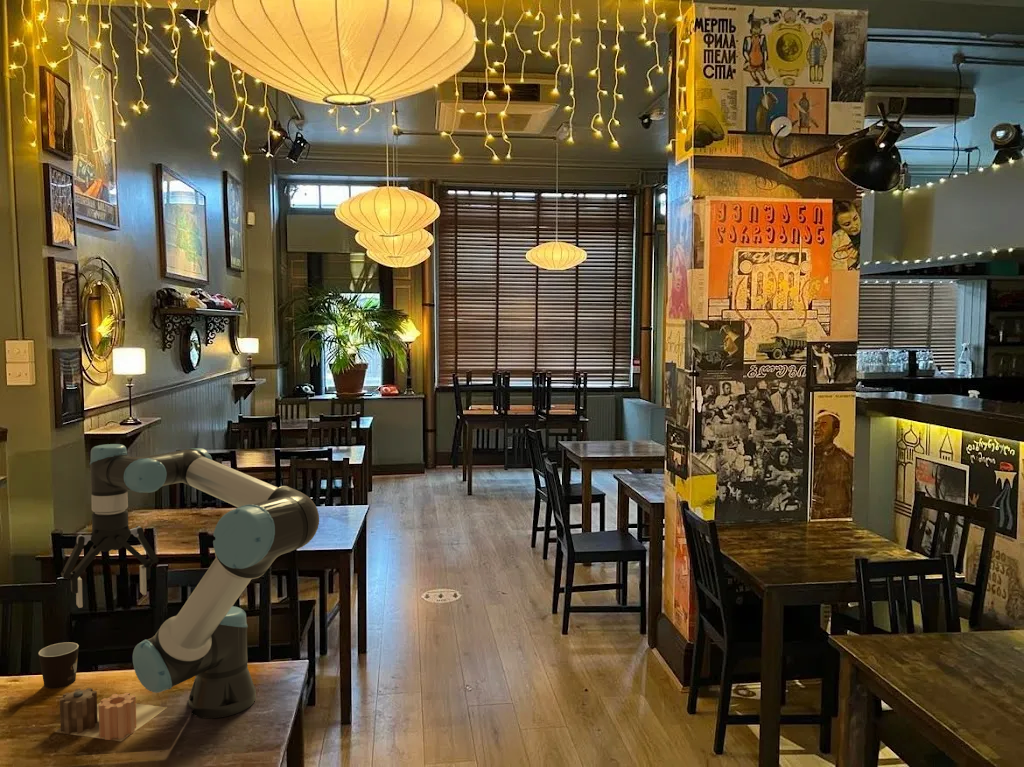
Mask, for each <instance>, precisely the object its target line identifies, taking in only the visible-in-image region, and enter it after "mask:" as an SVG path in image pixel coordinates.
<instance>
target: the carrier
mask: <svg viewBox="0 0 1024 767" xmlns="http://www.w3.org/2000/svg"><path fill="white" fill-rule="evenodd" d="M99 704H101V701H100V702H99V703H97V717H98V723H95V727H94V728H92V729H86V730H83V733H79V734H77V732H72V733H70V734H69V735H73V736H79V737H85V738H87V737H88V738H93V739H100V740H105V736H104V737H101V738H100V734H99ZM166 709H168V707H167V706H157V705H151V704H143V703H136V728H135V731H134V732H133V733H135V732H136V731H138V729H141V728H142V727H143V726H145V724H147V723H149V722H150V721H151V720H153V718H156V717H157V716H158V715H159V714H161V713H162V712H164V711H165V710H166ZM54 733H57V734H58V733H59V734H65V732H64V731H61V727H59V728H58V729H56V730H54ZM129 736H131V734H127V735H124V738H121V739H118V737H117V738H112V739H111V740H110V741H115V742H122V741H124V740H125V739H127V737H129Z"/></svg>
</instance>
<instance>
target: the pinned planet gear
mask: <svg viewBox="0 0 1024 767" xmlns="http://www.w3.org/2000/svg"><path fill="white" fill-rule="evenodd" d="M97 695H98V693H97V690H94V689H93V688H91V687H88V688H86V689H81V688H77V689H74V691H72V692H65V693H64V694H62V697H61V698H59V715H60V716H59V717H60V723H59V724H60V728H61V731H64V732H65V733H64V735H71V734H70V733H72V732H77V734H79V733H83V730H86V729H92V728H94V727H95V723H98V717H97V704H98V696H97Z"/></svg>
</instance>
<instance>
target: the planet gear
mask: <svg viewBox="0 0 1024 767" xmlns="http://www.w3.org/2000/svg"><path fill="white" fill-rule="evenodd" d="M130 694H131V693H130V692H124V693H122V694H117V693H114V694H111V696H109V697H107V698H106V697H104V698H102V699H101V700H100V702H101V704H99V703H98V704H99V734H100V738H101V737H104V736H105V739H104V740H105V741H112V740H111V739H112V738H117V737H118V739H121V738H124V735H127V734H130V735H132V734H134V733H135V732H136V731H135V728H136V704H137V701H136V695H135V694H133V695H132V694H131V695H130ZM134 731H135V732H134ZM100 738H99V739H100Z"/></svg>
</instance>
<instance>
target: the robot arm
mask: <svg viewBox="0 0 1024 767" xmlns="http://www.w3.org/2000/svg"><path fill="white" fill-rule="evenodd" d="M89 470H90V491H91V492H90V493H91V496H90V497H91V511H92V512H93V513H92V514H91V533H90V534H88V535H87V534H85V535H84V534H83V535H82V534H80V533H78V534H77V535H76V539H75V545H74V547H73V548H72V551H71V553H70V555H69V557H68V559H67V561H66V563H65V565H64V567H63V569H62V571H61V572H60V575H61V577H62V579H64V580H67V579H68V580H70V591H71V593H72V594H75V595H76V596H75V600H76V602H75V603H76V606H77V607H78V608H79V609H80V608H83V606H84V603H83V579H82V578H81V575H82V574H83V573H84V571H85V570H87V569H88V568H87V567H89V566H90V564H92V562H93V560H94V559H95V558H96V557H97V556H98V555H99V554H100V553H101V552H104V553H107V552H110V551H118V550H120V549H122V548H124V549H126V550H127V551H128V552H129V553H130V554H131V555H132V556H133V557H135V558H136V559H137V560H138V561H139V562H140V563H141V564H142V565H139V592H140V593H141V594H142V596H145V595H147V580H150V579H151V578H152V577H151V576H152V575H151V567H152V565H154V564H157V563H158V562H159V558H158V556H157V554H156V553H155V550H153V548H152V547H151V545H150V543H149V542H148V539H147V538H146V537H145V533H144V532H145V530H144V528H143V527H142V526H141V525H136V526H135V527H134V528H129V510H127V509H128V508H129V502H128V501H129V499H128V496H129V495H128V491H132V492H136V493H140V494H142V493H146V494H148V493H150V494H151V493H155V492H157V491H158V490H159V489H160V488H162V487H164V486H169V485H174V484H179V483H180V484H181V483H183V484H185V485H187V486H189V487H192V488H194V489H196V490H199V491H201V492H203V493H205V494H207V495H209V496H212V497H214V498H217V499H219V500H220V501H222V502H223V501H224V502H225V503H228V504H230V505H232V506H234V507H236V508H235V509H234V508H233V509H231V510H229V511H228V512H226V513H225V514H223V515H222V516H221V517H220V519H219V520H218V521H217V523H216V525H215V527H214V530H213V537H214V539H213V541H212V544H213V549H214V556H215V558H214V560H213V561H212V562H211V564H210V566H209V567H208V569H207V571H206V572H205V573H204V575H203V576H202V577H201V579H200V580H199V582H198V584H197V585H196V586H195V588H194V589H193V591H192V592H191V594H190V596H189V597H188V598H187V600H186V601H185V603H184V605H183V606H182V607H181V609H180V610H179V611H178V613H177V614H176V615H174V616H171V617H169V618H168V619H166V620H164V622H163V623H162V624H161V625H160V627H159V629H157V631H156V633H155V635H153V636H152V637H151V638H148V639H144V640H142V641H141V642H139V643H137V644H136V645H135V647H134V649H133V651H132V665H133V669H134V672H135V675H136V677H137V679H138V681H139V682H140V684H141V685H142V686H143V687H144V688H145V690H147V691H148V692H152V693H155V694H159V693H162V692H164V691H167V690H168V691H169V690H171V689H172V688H174V687H175V686H177V685H180V684H181V683H184V682H186V681H187V680H190V679H191V678H192V679H193V678H194V680H193V683H192V687H191V690H190V692H189V697H188V706H189V707H190V709H192V711H191V713H190V714H192V715H193V716H195V717H198V718H203V719H218V718H225V717H229V716H233V715H237V714H240V713H241V712H244V711H245V710H247V709H249V708H250V707H251V706H252V705H253V704H254V703H255V702H256V698H257V694H256V692H257V690H256V685H255V684H254V682H253V678H252V675H251V672H250V671H249V667H248V666H249V664H248V623H247V622H248V621H247V613H246V611H245V610H244V609H242V608H241V607H238V606H236V605H235V603H236V602H237V600H238V599H239V597H240V596H241V595H242V593H243V592H244V590H245V589H246V588H247V586H248V585H249V584H250V583H251V580H255V579H259V578H260V577H262V576H263V575H264V574H266V572H267V571H268V569H269V568H270V567H271V565H272V564H273V563H274V561H275V560H276V559H277V558H278V557H280V556H281V555H284V554H287V553H291V552H293V551H296V550H299V549H301V548H303V547H305V546H306V545H308V544H309V543H310V542H311V541H312V539H313V538H314V537H315V536H316V534H317V531H318V529H319V524H320V514H319V511H318V507H317V506H316V504H315V503H314V501H313V500H312V499H311V498H310V497H309V496H308V495H307V494H305V493H303V492H301V491H300V490H297V489H295V488H292V487H290V486H287V485H281V486H279V487H278V486H276V485H273V484H271V483H268V482H266V481H263V480H261V479H258V478H256V477H254V476H251V475H249V474H248V473H244V472H242V471H239V470H237V469H234V468H232V467H229V466H227V465H225V464H223V463H220V462H218V461H216V460H213V457H212V456H211V454H209V452H208V450H207V449H205V448H201V447H199V448H186V449H182V450H175V451H170V452H166V453H165V452H163V453H158V454H151V455H145V456H129V455H128V451H127V447H126V446H125V445H124V444H120V443H110V444H109V443H107V444H99V445H95V446H93V447H92V448H91V450H90V462H89ZM131 535H133V537H135V538H137V540H138V542H139V543H140V544H141V546H142V548H143V549H144V551H145V553H146V554H147V556H148V559H147V558H146V557H145V556H143V555H142V554H141V553H139V551H138V550H137V549H136V548H134V547H133V546H132V545H131V544H130V543H129V542H127V541H128V539H129V538H130V537H131ZM89 541H90V542H92V543H93V544H92V546H91V547H90V548H89V551H88V552H87V553H86V554H85V556H84V557H83V558H81V560H80V561H79V563H78V564H77V562H78V559H79V558H80V556H81V554H82V552H83V551H84V550H83V549H84V546H86V545H87V544H88V542H89ZM76 564H77V565H76ZM75 566H76V567H75ZM234 605H235V606H234ZM254 701H255V702H254Z"/></svg>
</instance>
